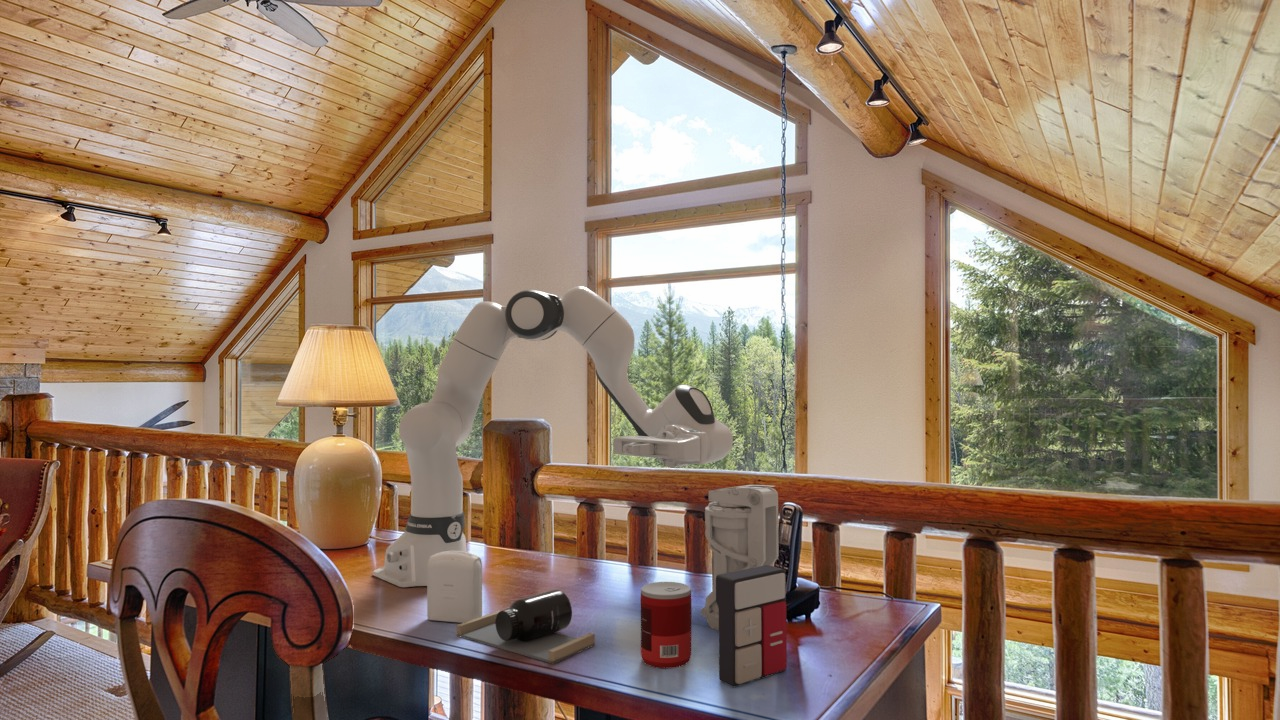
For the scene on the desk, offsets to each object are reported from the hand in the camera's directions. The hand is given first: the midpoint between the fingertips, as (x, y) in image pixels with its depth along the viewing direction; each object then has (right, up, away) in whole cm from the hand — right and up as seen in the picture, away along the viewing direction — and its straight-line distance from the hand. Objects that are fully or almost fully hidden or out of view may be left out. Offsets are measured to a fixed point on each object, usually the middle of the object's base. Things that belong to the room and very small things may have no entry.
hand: (627, 449), depth 143 cm
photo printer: (-31, -30, -11) cm, 45 cm away
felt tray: (-17, -29, -22) cm, 40 cm away
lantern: (+20, -30, -14) cm, 39 cm away
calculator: (+19, -29, -37) cm, 50 cm away
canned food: (+6, -29, -30) cm, 43 cm away
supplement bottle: (-11, -25, -17) cm, 32 cm away
